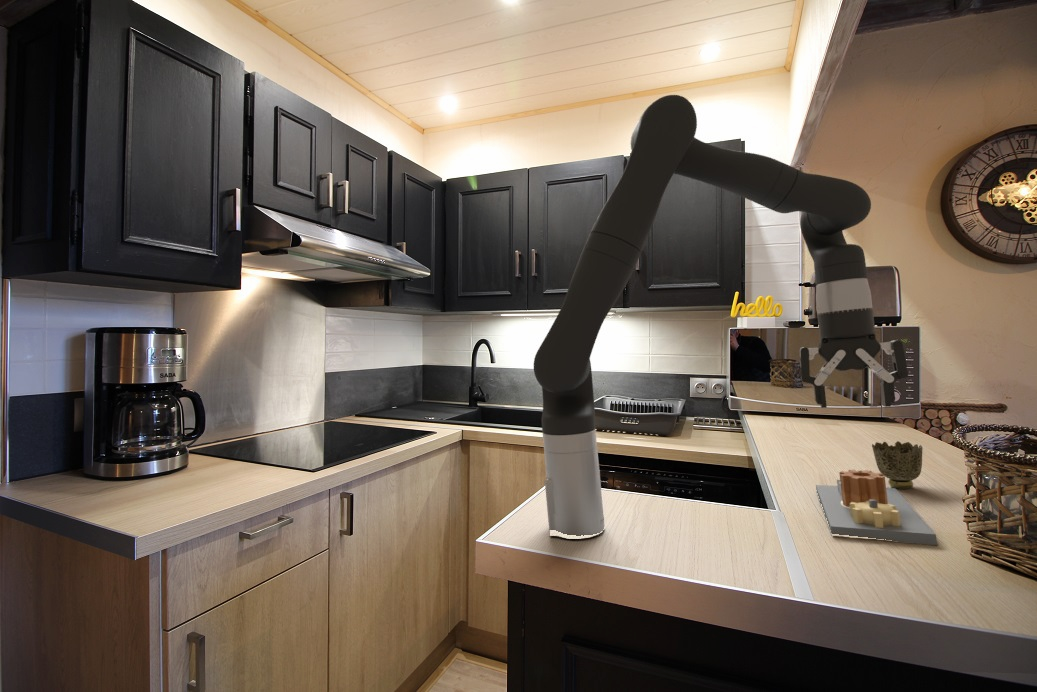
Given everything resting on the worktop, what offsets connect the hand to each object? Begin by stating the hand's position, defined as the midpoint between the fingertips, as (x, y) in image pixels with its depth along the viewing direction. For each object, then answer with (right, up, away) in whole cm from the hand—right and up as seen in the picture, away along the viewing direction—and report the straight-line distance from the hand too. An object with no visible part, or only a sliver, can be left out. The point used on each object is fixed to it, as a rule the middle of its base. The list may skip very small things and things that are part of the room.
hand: (854, 406), depth 76 cm
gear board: (+2, -18, -1) cm, 18 cm away
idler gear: (+1, -16, -1) cm, 16 cm away
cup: (+17, -17, +11) cm, 26 cm away
